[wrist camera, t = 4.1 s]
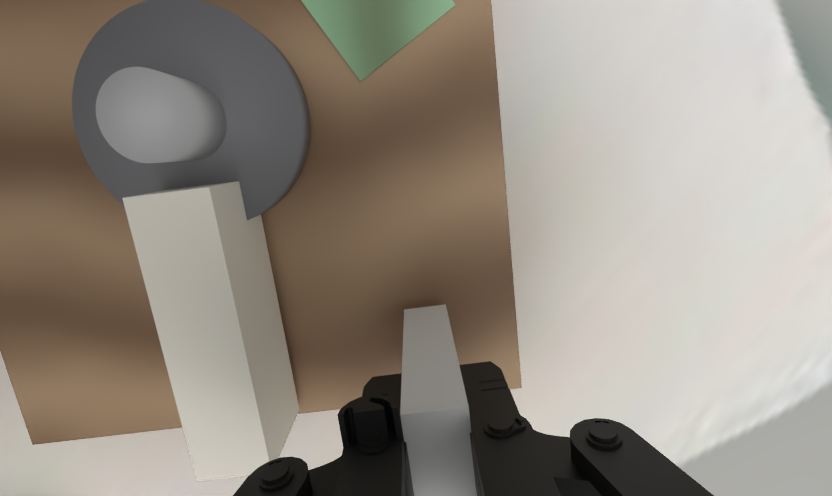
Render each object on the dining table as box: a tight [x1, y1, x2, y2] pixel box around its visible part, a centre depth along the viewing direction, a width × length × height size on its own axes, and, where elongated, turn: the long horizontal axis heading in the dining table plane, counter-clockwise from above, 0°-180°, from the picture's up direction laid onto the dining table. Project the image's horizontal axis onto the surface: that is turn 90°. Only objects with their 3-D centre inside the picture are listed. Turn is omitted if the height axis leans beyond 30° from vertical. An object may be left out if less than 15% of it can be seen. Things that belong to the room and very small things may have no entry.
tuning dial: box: [72, 0, 311, 482], centre depth 14 cm, size 20×7×4 cm, turn 7°
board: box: [0, 0, 522, 445], centre depth 17 cm, size 22×20×2 cm
